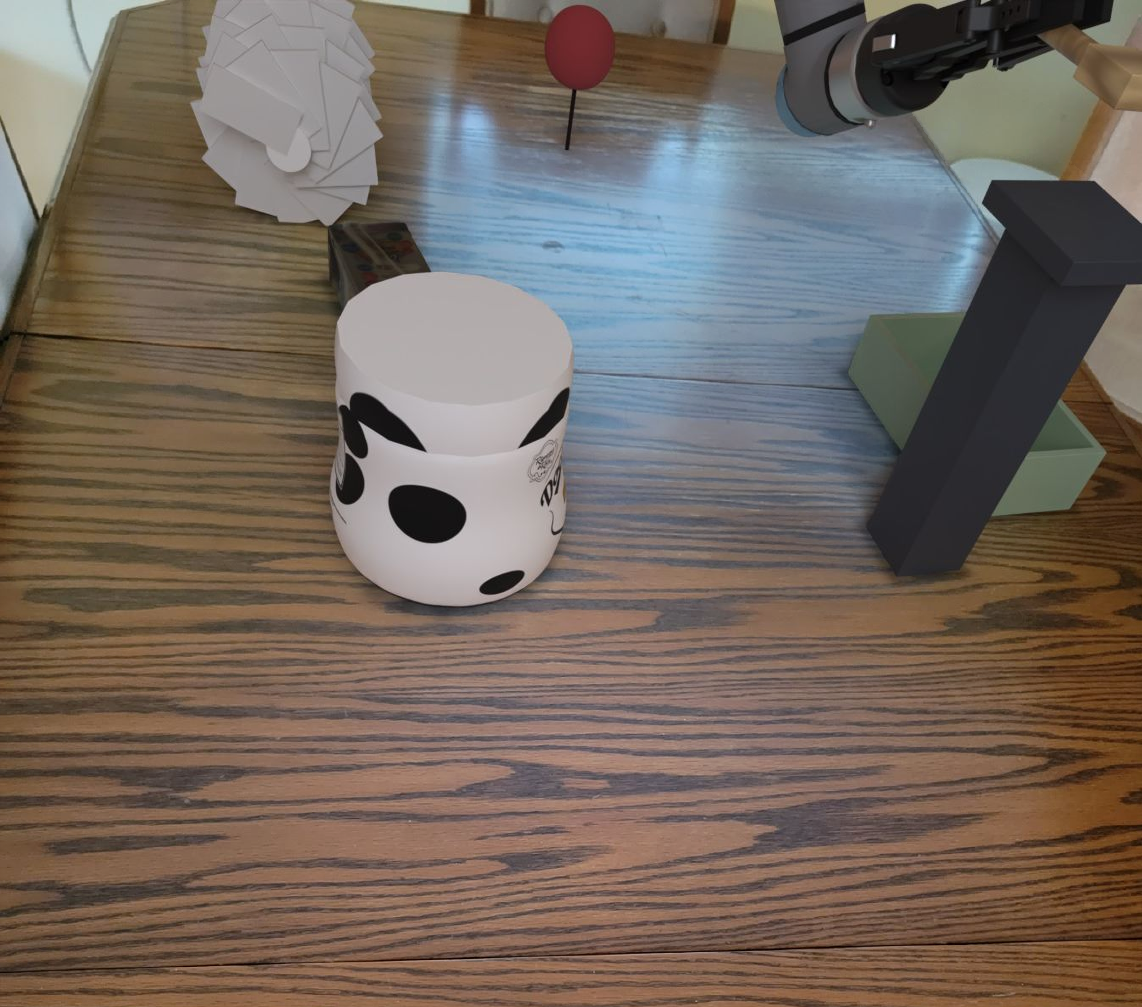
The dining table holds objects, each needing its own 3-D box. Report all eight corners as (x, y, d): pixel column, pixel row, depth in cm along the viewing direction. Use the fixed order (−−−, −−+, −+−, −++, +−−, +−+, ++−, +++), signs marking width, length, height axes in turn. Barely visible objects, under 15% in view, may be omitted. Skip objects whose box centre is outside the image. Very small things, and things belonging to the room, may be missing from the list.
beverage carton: (408, 278, 102) (408, 211, 96) (464, 394, 92) (468, 326, 86) (327, 284, 99) (323, 215, 94) (377, 403, 89) (375, 334, 84)
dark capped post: (978, 592, 85) (1183, 260, 62) (893, 601, 83) (1073, 262, 60) (924, 511, 90) (1094, 180, 68) (843, 518, 88) (991, 179, 66)
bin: (845, 378, 101) (870, 314, 96) (955, 373, 104) (985, 310, 99) (945, 525, 89) (980, 461, 84) (1066, 514, 93) (1107, 452, 87)
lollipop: (576, 177, 119) (595, 27, 107) (522, 153, 121) (535, 3, 109) (610, 157, 123) (632, 10, 111) (558, 134, 125) (574, -12, 113)
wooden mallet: (1163, 114, 66) (1183, 79, 64) (1114, 109, 65) (1132, 74, 63) (1028, 13, 75) (1042, -20, 74) (982, 8, 74) (996, -25, 73)
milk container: (603, 562, 81) (645, 356, 67) (435, 665, 72) (443, 454, 58) (457, 449, 87) (467, 237, 73) (286, 532, 78) (259, 311, 64)
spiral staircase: (335, 174, 120) (344, 278, 105) (181, 91, 111) (166, 192, 96) (401, 12, 109) (422, 102, 94) (236, -94, 100) (229, -13, 85)
